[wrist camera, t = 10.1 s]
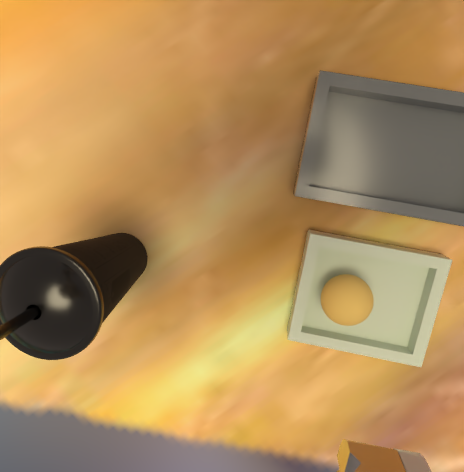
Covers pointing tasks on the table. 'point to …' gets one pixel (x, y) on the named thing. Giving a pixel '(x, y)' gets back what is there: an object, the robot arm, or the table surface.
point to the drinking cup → (65, 292)
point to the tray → (384, 293)
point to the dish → (384, 148)
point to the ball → (347, 300)
